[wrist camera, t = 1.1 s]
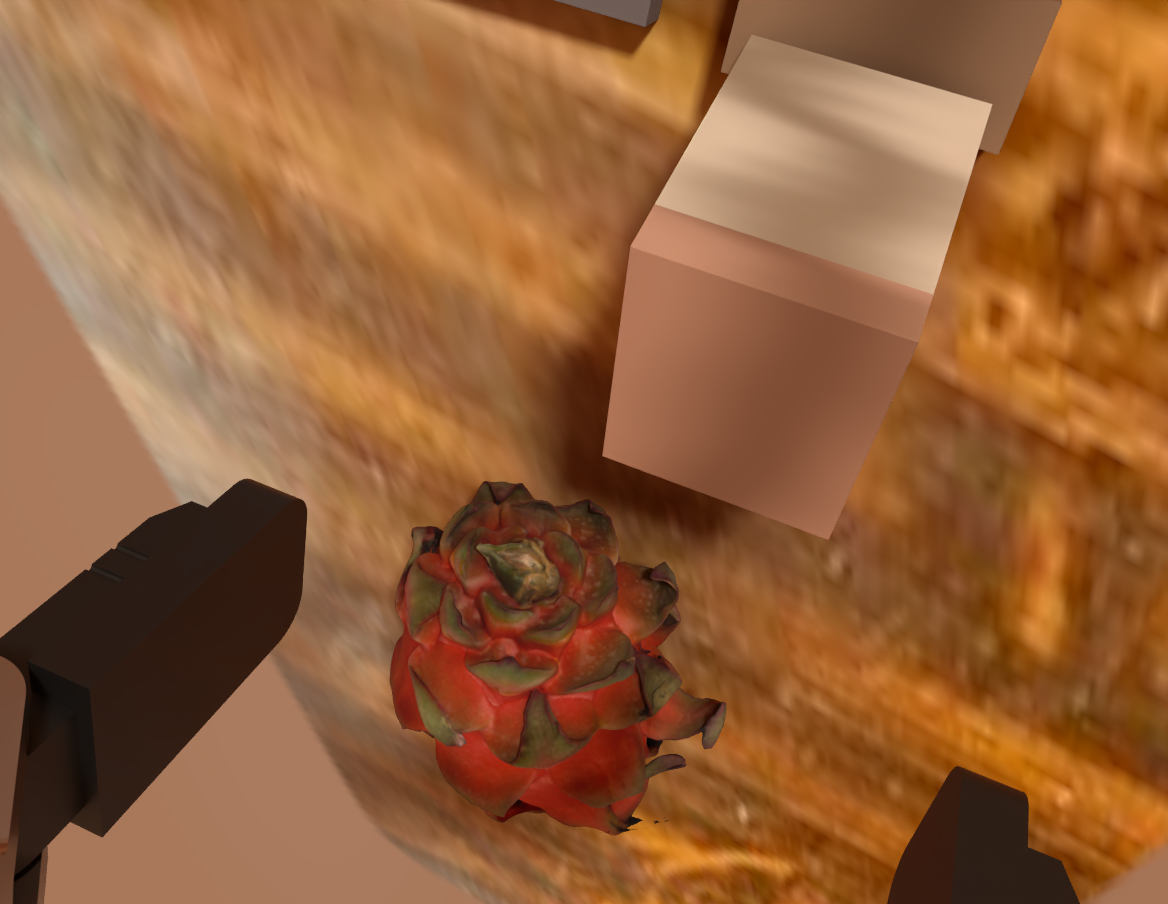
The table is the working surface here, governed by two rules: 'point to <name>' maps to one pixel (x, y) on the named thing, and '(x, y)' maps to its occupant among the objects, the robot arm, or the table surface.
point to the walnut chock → (916, 43)
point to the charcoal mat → (622, 9)
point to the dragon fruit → (541, 661)
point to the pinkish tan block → (787, 281)
